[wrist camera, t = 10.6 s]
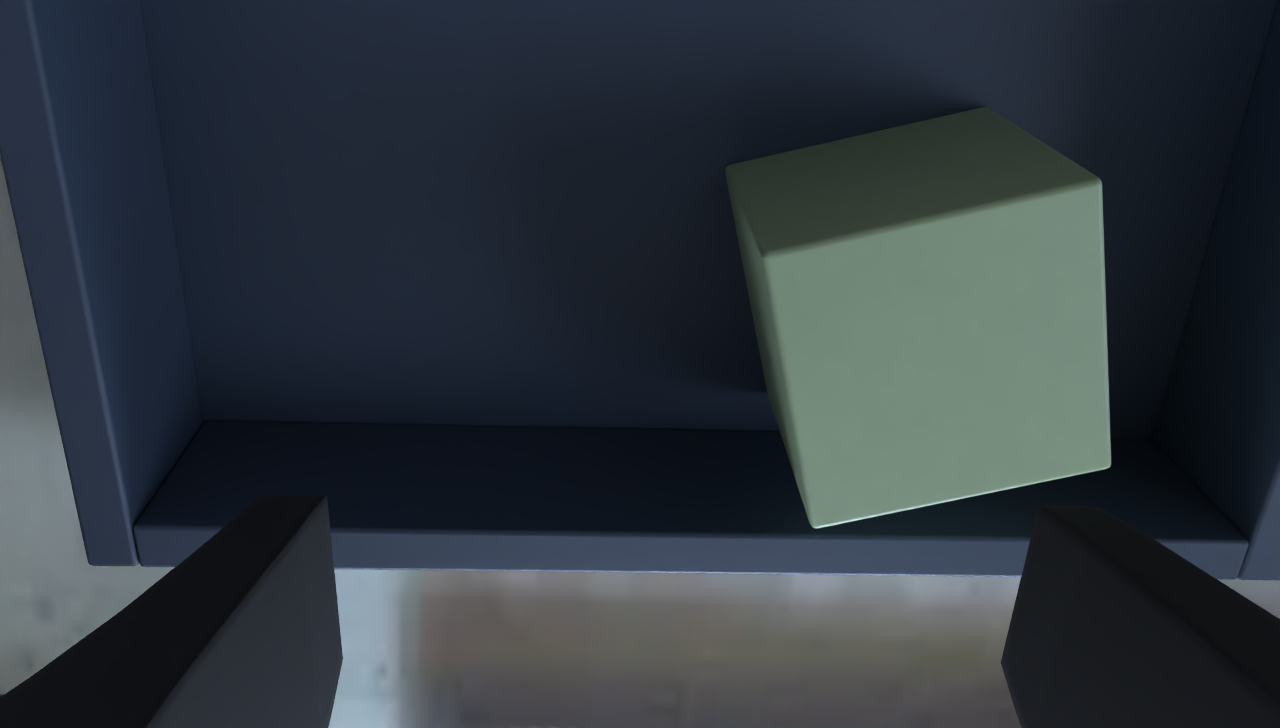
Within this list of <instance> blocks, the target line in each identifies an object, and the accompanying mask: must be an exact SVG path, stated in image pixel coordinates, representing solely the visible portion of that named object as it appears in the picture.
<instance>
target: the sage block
mask: <svg viewBox="0 0 1280 728" xmlns="http://www.w3.org/2000/svg"><path fill="white" fill-rule="evenodd" d="M725 174H726V179H727V184H728V190H729V195H730V200H731V205H732V211H733V216H734V221H735V226H736V232H737V237H738V242H739V247H740V253H741V258H742V263H743V268H744V274H745V279H746V284H747V289H748V295H749V300H750V305H751V310H752V316H753V321H754V326H755V331H756V337H757V342H758V347H759V352H760V358H761V363H762V368H763V373H764V379H765V384H766V389H767V394H768V397H769V400H770V403H771V406H772V409H773V412H774V415H775V418H776V421H777V424H778V427H779V431H780V434H781V437H782V440H783V443H784V446H785V449H786V452H787V455H788V458H789V461H790V464H791V467H792V470H793V473H794V477H795V480H796V483H797V486H798V489H799V492H800V495H801V498H802V501H803V504H804V507H805V510H806V513H807V516H808V519H809V523H810V524H811V526H812V527H813V528H822V527H827V526H832V525H837V524H842V523H847V522H852V521H856V520H861V519H866V518H871V517H876V516H881V515H885V514H890V513H895V512H900V511H905V510H910V509H915V508H919V507H924V506H929V505H934V504H939V503H944V502H948V501H953V500H958V499H963V498H968V497H973V496H978V495H982V494H987V493H992V492H997V491H1002V490H1007V489H1011V488H1016V487H1021V486H1026V485H1031V484H1036V483H1041V482H1045V481H1050V480H1055V479H1060V478H1065V477H1070V476H1074V475H1079V474H1084V473H1089V472H1094V471H1099V470H1104V469H1107V468H1109V467H1110V466H1111V442H1110V411H1109V380H1108V349H1107V318H1106V288H1105V257H1104V226H1103V195H1102V182H1101V180H1100V178H1098V177H1097V176H1095V175H1094V174H1092V173H1090V172H1089V171H1087V170H1086V169H1084V168H1083V167H1081V166H1079V165H1078V164H1076V163H1075V162H1073V161H1072V160H1070V159H1068V158H1067V157H1065V156H1064V155H1062V154H1061V153H1059V152H1057V151H1056V150H1054V149H1053V148H1051V147H1050V146H1048V145H1046V144H1045V143H1043V142H1042V141H1040V140H1039V139H1037V138H1035V137H1034V136H1032V135H1031V134H1029V133H1027V132H1026V131H1024V130H1023V129H1021V128H1020V127H1018V126H1016V125H1015V124H1013V123H1012V122H1010V121H1009V120H1007V119H1005V118H1004V117H1002V116H1001V115H999V114H998V113H996V112H994V111H993V110H991V109H990V108H987V107H982V108H977V109H973V110H968V111H964V112H960V113H955V114H951V115H946V116H942V117H938V118H933V119H929V120H924V121H920V122H916V123H911V124H907V125H902V126H898V127H894V128H889V129H885V130H880V131H876V132H872V133H867V134H863V135H858V136H854V137H850V138H845V139H841V140H836V141H832V142H828V143H823V144H819V145H814V146H810V147H806V148H801V149H797V150H792V151H788V152H784V153H779V154H775V155H770V156H766V157H762V158H757V159H753V160H748V161H744V162H740V163H735V164H731V165H729V166H727V167H726V170H725Z"/></svg>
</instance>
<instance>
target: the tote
mask: <svg viewBox="0 0 1280 728" xmlns="http://www.w3.org/2000/svg"><path fill="white" fill-rule="evenodd" d="M982 107H987V108H990V109H991V110H993V111H994V112H996V113H998V114H999V115H1001V116H1002V117H1004V118H1005V119H1007V120H1009V121H1010V122H1012V123H1013V124H1015V125H1016V126H1018V127H1020V128H1021V129H1023V130H1024V131H1026V132H1027V133H1029V134H1031V135H1032V136H1034V137H1035V138H1037V139H1039V140H1040V141H1042V142H1043V143H1045V144H1046V145H1048V146H1050V147H1051V148H1053V149H1054V150H1056V151H1057V152H1059V153H1061V154H1062V155H1064V156H1065V157H1067V158H1068V159H1070V160H1072V161H1073V162H1075V163H1076V164H1078V165H1079V166H1081V167H1083V168H1084V169H1086V170H1087V171H1089V172H1090V173H1092V174H1094V175H1095V176H1097V177H1098V178H1100V180H1101V182H1102V195H1103V226H1104V257H1105V288H1106V318H1107V349H1108V380H1109V411H1110V442H1111V466H1110V467H1109V468H1107V469H1104V470H1099V471H1094V472H1089V473H1084V474H1079V475H1074V476H1070V477H1065V478H1060V479H1055V480H1050V481H1045V482H1041V483H1036V484H1031V485H1026V486H1021V487H1016V488H1011V489H1007V490H1002V491H997V492H992V493H987V494H982V495H978V496H973V497H968V498H963V499H958V500H953V501H948V502H944V503H939V504H934V505H929V506H924V507H919V508H915V509H910V510H905V511H900V512H895V513H890V514H885V515H881V516H876V517H871V518H866V519H861V520H856V521H852V522H847V523H842V524H837V525H832V526H827V527H822V528H813V527H812V526H811V524H810V523H809V519H808V516H807V513H806V510H805V507H804V504H803V501H802V498H801V495H800V492H799V489H798V486H797V483H796V480H795V477H794V473H793V470H792V467H791V464H790V461H789V458H788V455H787V452H786V449H785V446H784V443H783V440H782V437H781V434H780V431H779V427H778V424H777V421H776V418H775V415H774V412H773V409H772V406H771V403H770V400H769V397H768V394H767V389H766V384H765V379H764V373H763V368H762V363H761V358H760V352H759V347H758V342H757V337H756V331H755V326H754V321H753V316H752V310H751V305H750V300H749V295H748V289H747V284H746V279H745V274H744V268H743V263H742V258H741V253H740V247H739V242H738V237H737V232H736V226H735V221H734V216H733V211H732V205H731V200H730V195H729V190H728V184H727V179H726V174H725V170H726V167H727V166H729V165H731V164H735V163H740V162H744V161H748V160H753V159H757V158H762V157H766V156H770V155H775V154H779V153H784V152H788V151H792V150H797V149H801V148H806V147H810V146H814V145H819V144H823V143H828V142H832V141H836V140H841V139H845V138H850V137H854V136H858V135H863V134H867V133H872V132H876V131H880V130H885V129H889V128H894V127H898V126H902V125H907V124H911V123H916V122H920V121H924V120H929V119H933V118H938V117H942V116H946V115H951V114H955V113H960V112H964V111H968V110H973V109H977V108H982ZM0 155H1V160H2V165H3V169H4V174H5V179H6V183H7V188H8V193H9V197H10V202H11V207H12V211H13V216H14V220H15V225H16V230H17V234H18V239H19V244H20V248H21V253H22V258H23V262H24V267H25V272H26V276H27V281H28V285H29V290H30V295H31V299H32V304H33V309H34V313H35V318H36V323H37V327H38V332H39V337H40V341H41V346H42V350H43V355H44V360H45V364H46V369H47V374H48V378H49V383H50V388H51V392H52V397H53V402H54V406H55V411H56V415H57V420H58V425H59V429H60V434H61V439H62V443H63V448H64V453H65V457H66V462H67V467H68V471H69V476H70V480H71V485H72V490H73V494H74V499H75V504H76V508H77V513H78V518H79V522H80V527H81V532H82V536H83V541H84V545H85V550H86V555H87V559H88V563H89V564H90V565H92V566H136V565H138V564H139V563H140V565H141V566H143V567H176V566H178V565H179V564H180V563H181V562H183V561H184V560H185V559H186V558H187V557H189V556H190V555H191V554H192V553H193V552H195V551H196V550H197V549H198V548H199V547H201V546H202V545H203V544H204V543H205V542H207V541H208V540H209V539H210V538H211V537H213V536H214V535H215V534H216V533H217V532H219V531H220V530H221V529H222V528H223V527H225V526H226V525H227V524H228V523H229V522H231V521H232V520H233V519H234V518H235V517H237V516H238V515H239V514H240V513H241V512H243V511H244V510H245V509H246V508H248V507H249V506H250V505H251V504H253V503H254V502H255V501H257V500H258V499H259V498H261V497H262V496H263V495H265V494H267V495H327V502H328V512H329V523H330V533H331V543H332V553H333V564H334V569H378V570H465V571H552V572H638V573H725V574H812V575H899V576H986V577H1021V576H1022V572H1023V568H1024V564H1025V560H1026V555H1027V551H1028V547H1029V543H1030V539H1031V535H1032V530H1033V526H1034V522H1035V518H1036V514H1037V510H1038V506H1096V507H1099V508H1101V509H1102V510H1104V511H1106V512H1108V513H1110V514H1112V515H1114V516H1116V517H1118V518H1119V519H1121V520H1123V521H1125V522H1126V523H1128V524H1130V525H1131V526H1133V527H1135V528H1136V529H1138V530H1140V531H1141V532H1143V533H1145V534H1146V535H1148V536H1149V537H1151V538H1153V539H1154V540H1156V541H1157V542H1159V543H1161V544H1162V545H1164V546H1166V547H1167V548H1169V549H1170V550H1172V551H1173V552H1175V553H1177V554H1178V555H1180V556H1181V557H1183V558H1184V559H1186V560H1187V561H1189V562H1191V563H1192V564H1194V565H1195V566H1197V567H1198V568H1200V569H1201V570H1203V571H1205V572H1206V573H1208V574H1209V575H1211V576H1212V577H1214V578H1216V579H1236V578H1239V579H1241V580H1280V0H0Z"/></svg>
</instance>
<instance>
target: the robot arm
mask: <svg viewBox="0 0 1280 728" xmlns="http://www.w3.org/2000/svg"><path fill="white" fill-rule="evenodd" d="M342 660H343V656H342V646H341V636H340V625H339V615H338V605H337V595H336V584H335V574H334V564H333V553H332V543H331V533H330V523H329V512H328V502H327V495H267V494H265V495H263V496H262V497H261V498H259V499H258V500H257V501H255V502H254V503H253V504H251V505H250V506H249V507H248V508H246V509H245V510H244V511H243V512H241V513H240V514H239V515H238V516H237V517H235V518H234V519H233V520H232V521H231V522H229V523H228V524H227V525H226V526H225V527H223V528H222V529H221V530H220V531H219V532H217V533H216V534H215V535H214V536H213V537H211V538H210V539H209V540H208V541H207V542H205V543H204V544H203V545H202V546H201V547H199V548H198V549H197V550H196V551H195V552H193V553H192V554H191V555H190V556H189V557H187V558H186V559H185V560H184V561H183V562H181V563H180V564H179V565H178V566H176V567H175V568H174V569H173V570H171V571H170V572H169V573H168V574H166V575H165V576H164V577H163V578H161V579H160V580H159V581H158V582H156V583H155V584H154V585H153V586H151V587H150V588H149V589H148V590H147V591H145V592H144V593H143V594H142V595H140V596H139V597H138V598H137V599H135V600H134V601H133V602H132V603H130V604H129V605H128V606H127V607H125V608H124V609H123V610H121V611H120V612H119V613H117V614H116V615H115V616H113V617H112V618H111V619H109V620H108V621H107V622H105V623H104V624H102V625H101V626H100V627H98V628H97V629H96V630H94V631H93V632H91V633H90V634H89V635H87V636H86V637H85V638H83V639H82V640H81V641H79V642H78V643H76V644H75V645H74V646H72V647H71V648H70V649H68V650H67V651H65V652H64V653H63V654H61V655H60V656H59V657H57V658H56V659H55V660H53V661H52V662H50V663H49V664H48V665H46V666H45V667H44V668H42V669H41V670H39V671H38V672H37V673H35V674H34V675H33V676H31V677H30V678H28V679H27V680H25V681H24V682H22V683H21V684H19V685H18V686H16V687H15V688H14V689H12V690H11V691H9V692H8V693H6V694H5V695H3V696H2V697H0V728H328V726H329V722H330V718H331V713H332V709H333V704H334V699H335V694H336V689H337V684H338V679H339V674H340V669H341V665H342ZM1001 665H1002V668H1003V671H1004V674H1005V678H1006V681H1007V684H1008V687H1009V690H1010V694H1011V697H1012V700H1013V703H1014V706H1015V710H1016V713H1017V715H1018V718H1019V721H1020V724H1021V727H1022V728H1280V619H1279V618H1277V617H1275V616H1274V615H1272V614H1271V613H1269V612H1267V611H1266V610H1264V609H1263V608H1261V607H1260V606H1258V605H1256V604H1255V603H1253V602H1252V601H1250V600H1248V599H1247V598H1245V597H1244V596H1242V595H1241V594H1239V593H1237V592H1236V591H1234V590H1233V589H1231V588H1230V587H1228V586H1226V585H1225V584H1223V583H1222V582H1220V581H1219V580H1217V579H1216V578H1214V577H1212V576H1211V575H1209V574H1208V573H1206V572H1205V571H1203V570H1201V569H1200V568H1198V567H1197V566H1195V565H1194V564H1192V563H1191V562H1189V561H1187V560H1186V559H1184V558H1183V557H1181V556H1180V555H1178V554H1177V553H1175V552H1173V551H1172V550H1170V549H1169V548H1167V547H1166V546H1164V545H1162V544H1161V543H1159V542H1157V541H1156V540H1154V539H1153V538H1151V537H1149V536H1148V535H1146V534H1145V533H1143V532H1141V531H1140V530H1138V529H1136V528H1135V527H1133V526H1131V525H1130V524H1128V523H1126V522H1125V521H1123V520H1121V519H1119V518H1118V517H1116V516H1114V515H1112V514H1110V513H1108V512H1106V511H1104V510H1102V509H1101V508H1099V507H1096V506H1038V510H1037V514H1036V518H1035V522H1034V526H1033V530H1032V535H1031V539H1030V543H1029V547H1028V551H1027V555H1026V560H1025V564H1024V568H1023V572H1022V576H1021V581H1020V585H1019V589H1018V593H1017V597H1016V601H1015V606H1014V610H1013V614H1012V618H1011V622H1010V627H1009V631H1008V635H1007V639H1006V643H1005V647H1004V652H1003V656H1002V660H1001Z"/></svg>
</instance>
